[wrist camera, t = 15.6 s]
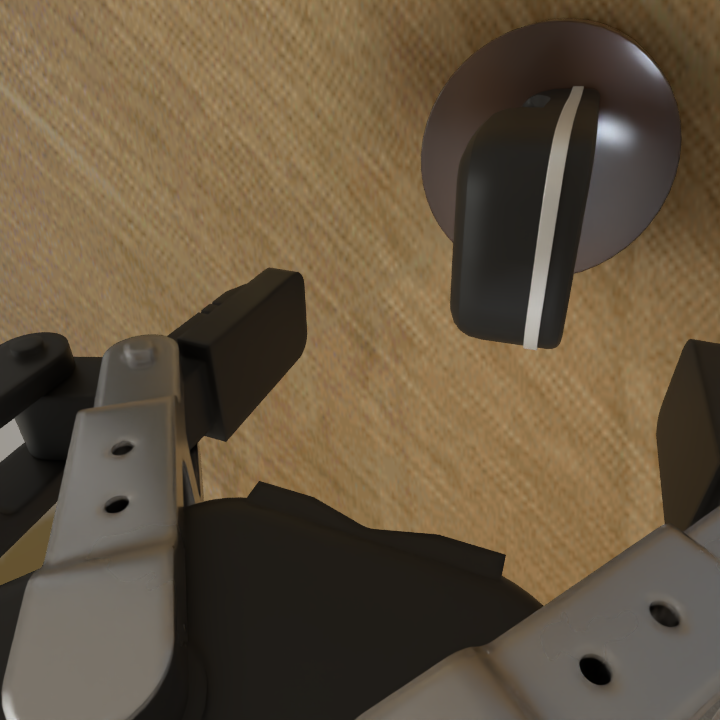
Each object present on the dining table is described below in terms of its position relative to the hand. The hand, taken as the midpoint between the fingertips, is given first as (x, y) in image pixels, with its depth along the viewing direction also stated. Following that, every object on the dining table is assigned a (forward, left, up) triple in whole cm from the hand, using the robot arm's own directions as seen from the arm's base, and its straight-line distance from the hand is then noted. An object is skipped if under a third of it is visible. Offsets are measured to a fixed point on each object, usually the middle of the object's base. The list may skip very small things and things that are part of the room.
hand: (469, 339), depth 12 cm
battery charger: (0, 0, -17) cm, 17 cm away
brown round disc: (0, 0, -19) cm, 19 cm away
